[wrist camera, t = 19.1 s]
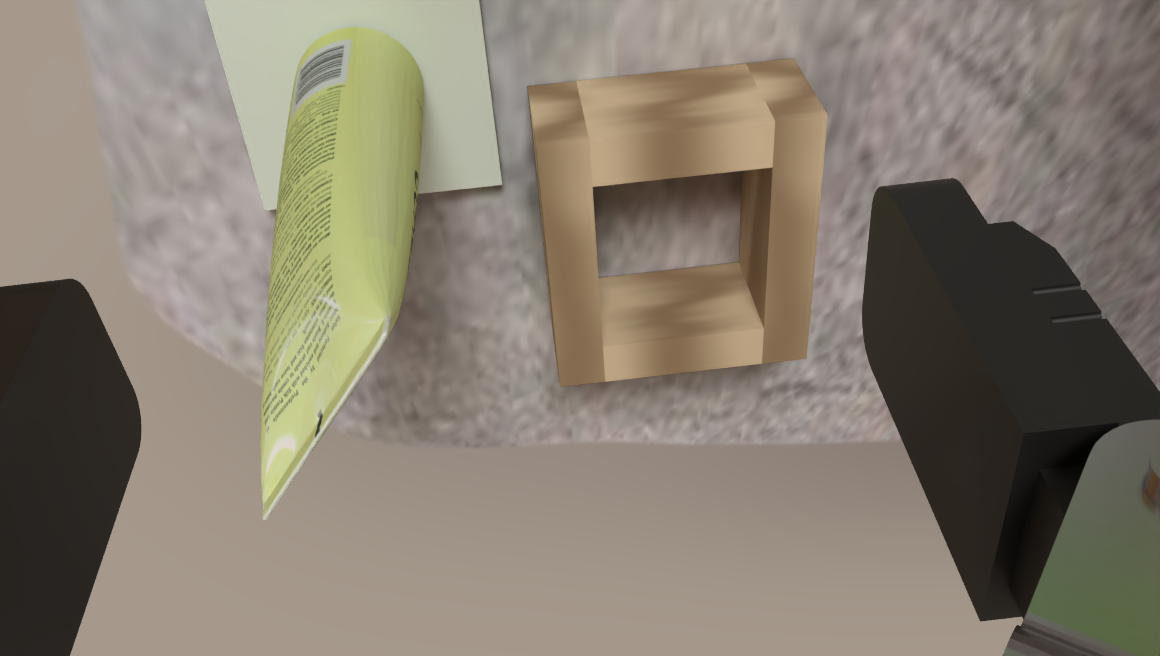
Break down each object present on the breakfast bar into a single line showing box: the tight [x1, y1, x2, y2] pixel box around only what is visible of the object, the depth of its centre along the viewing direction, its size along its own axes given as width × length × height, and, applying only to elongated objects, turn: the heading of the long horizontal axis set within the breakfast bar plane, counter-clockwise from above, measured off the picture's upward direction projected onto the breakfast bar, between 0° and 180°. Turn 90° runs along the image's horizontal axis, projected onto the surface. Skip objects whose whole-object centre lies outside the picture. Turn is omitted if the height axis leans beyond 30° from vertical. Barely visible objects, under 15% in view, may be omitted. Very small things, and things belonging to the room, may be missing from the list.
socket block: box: [527, 58, 828, 387], centre depth 46 cm, size 11×12×5 cm
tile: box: [204, 0, 502, 210], centre depth 43 cm, size 10×10×1 cm
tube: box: [261, 27, 424, 520], centre depth 35 cm, size 6×5×20 cm
